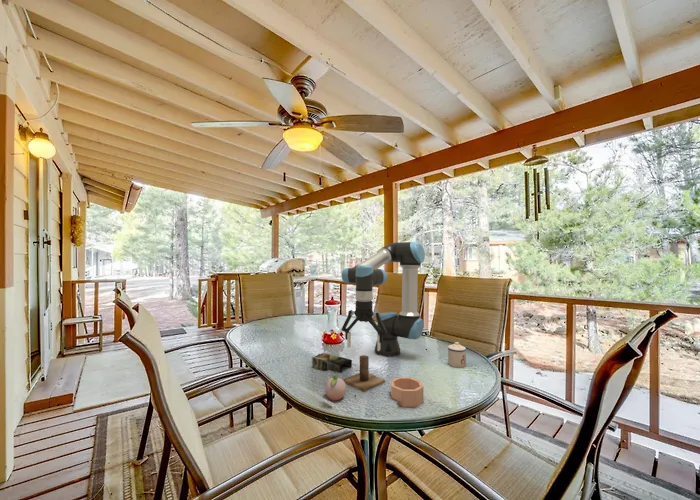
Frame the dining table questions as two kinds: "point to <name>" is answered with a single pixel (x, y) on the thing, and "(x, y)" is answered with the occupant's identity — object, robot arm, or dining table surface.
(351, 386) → the mat
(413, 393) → the bowl
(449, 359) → the teacup with lid
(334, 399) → the decorative fruit
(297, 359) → the dining table surface
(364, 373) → the lid
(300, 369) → the dining table surface
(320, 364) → the juice carton
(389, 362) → the dining table surface
